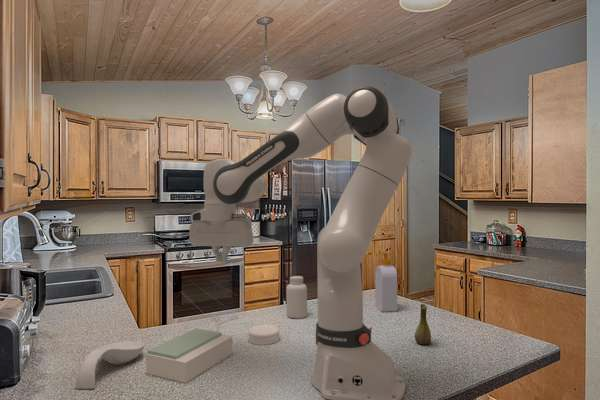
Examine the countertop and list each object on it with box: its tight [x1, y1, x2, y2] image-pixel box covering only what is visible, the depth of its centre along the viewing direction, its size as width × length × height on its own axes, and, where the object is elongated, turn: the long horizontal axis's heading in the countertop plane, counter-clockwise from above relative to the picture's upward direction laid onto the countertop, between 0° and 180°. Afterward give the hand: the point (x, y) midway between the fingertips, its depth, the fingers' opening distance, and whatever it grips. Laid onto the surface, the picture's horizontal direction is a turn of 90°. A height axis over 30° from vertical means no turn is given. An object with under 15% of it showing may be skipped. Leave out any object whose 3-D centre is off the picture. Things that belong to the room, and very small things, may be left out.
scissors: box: [207, 314, 239, 332], centre depth 142 cm, size 11×1×20 cm
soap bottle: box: [374, 252, 398, 313], centre depth 159 cm, size 9×7×23 cm
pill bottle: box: [285, 275, 308, 320], centre depth 151 cm, size 8×8×15 cm
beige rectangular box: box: [145, 334, 233, 384], centre depth 108 cm, size 13×20×5 cm, turn 155°
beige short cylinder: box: [247, 324, 281, 346], centre depth 126 cm, size 10×10×4 cm
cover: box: [147, 328, 222, 360], centre depth 109 cm, size 10×19×1 cm, turn 155°
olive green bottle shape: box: [414, 303, 432, 345], centre depth 122 cm, size 6×5×12 cm
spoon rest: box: [74, 340, 146, 390], centre depth 105 cm, size 24×12×7 cm, turn 178°
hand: (221, 261), depth 114 cm, fingers closed
